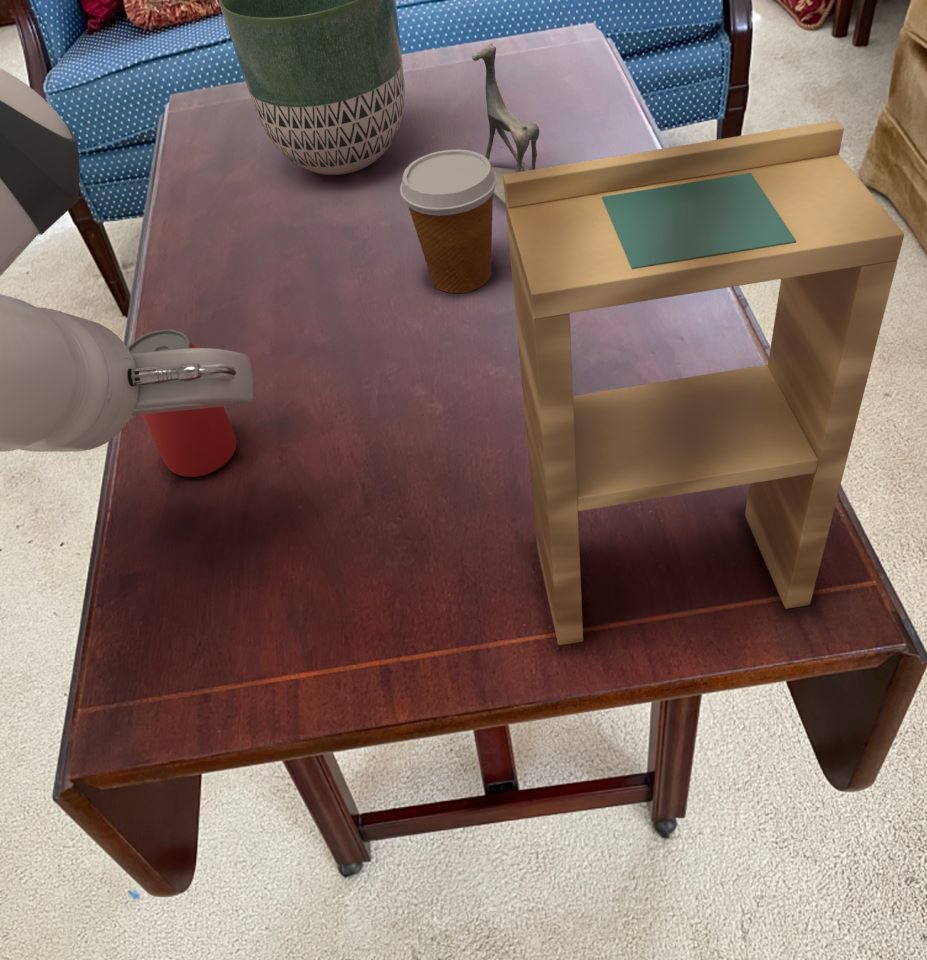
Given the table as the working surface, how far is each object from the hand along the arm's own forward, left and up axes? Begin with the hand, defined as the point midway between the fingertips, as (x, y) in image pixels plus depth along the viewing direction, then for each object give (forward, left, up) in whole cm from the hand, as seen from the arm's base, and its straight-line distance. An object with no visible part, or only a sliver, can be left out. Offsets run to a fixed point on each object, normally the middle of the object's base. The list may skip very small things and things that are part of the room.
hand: (148, 395), depth 74 cm
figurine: (+44, +34, -11) cm, 56 cm away
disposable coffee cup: (+32, +19, -11) cm, 38 cm away
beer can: (+2, +4, -11) cm, 11 cm away
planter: (+27, +50, -11) cm, 57 cm away
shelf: (+33, -25, -10) cm, 43 cm away
